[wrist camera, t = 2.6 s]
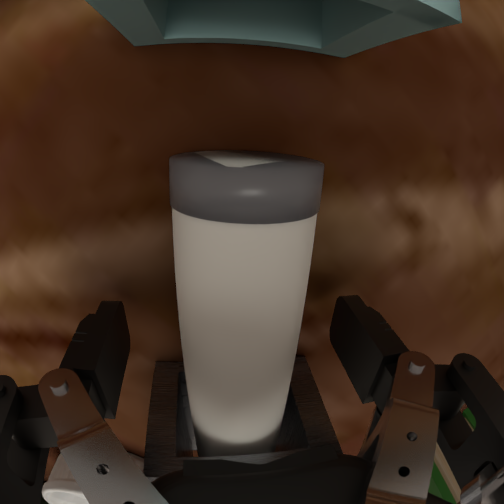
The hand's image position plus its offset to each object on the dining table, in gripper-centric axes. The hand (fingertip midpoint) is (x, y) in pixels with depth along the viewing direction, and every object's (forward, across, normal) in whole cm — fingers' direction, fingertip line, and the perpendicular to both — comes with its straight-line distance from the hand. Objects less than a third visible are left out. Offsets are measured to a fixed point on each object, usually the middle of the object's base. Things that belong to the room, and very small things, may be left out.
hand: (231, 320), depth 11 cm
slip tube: (+2, 0, +5) cm, 6 cm away
